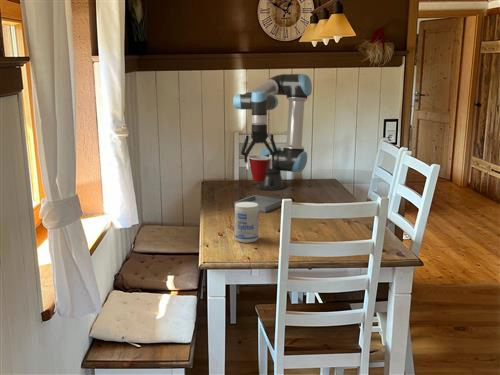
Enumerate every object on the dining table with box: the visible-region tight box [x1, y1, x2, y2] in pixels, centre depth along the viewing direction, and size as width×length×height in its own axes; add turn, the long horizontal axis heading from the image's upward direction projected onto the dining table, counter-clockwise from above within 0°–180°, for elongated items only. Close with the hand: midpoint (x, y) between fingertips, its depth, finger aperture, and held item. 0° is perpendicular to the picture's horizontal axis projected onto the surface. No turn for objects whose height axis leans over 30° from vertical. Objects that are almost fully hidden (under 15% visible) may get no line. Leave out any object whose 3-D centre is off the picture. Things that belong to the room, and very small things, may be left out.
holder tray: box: [233, 194, 283, 214], centre depth 269 cm, size 18×18×3 cm
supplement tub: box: [234, 202, 260, 244], centre depth 215 cm, size 10×10×15 cm
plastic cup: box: [248, 154, 270, 183], centre depth 265 cm, size 11×11×12 cm
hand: (259, 168), depth 265 cm, fingers closed on plastic cup, 11 cm apart
